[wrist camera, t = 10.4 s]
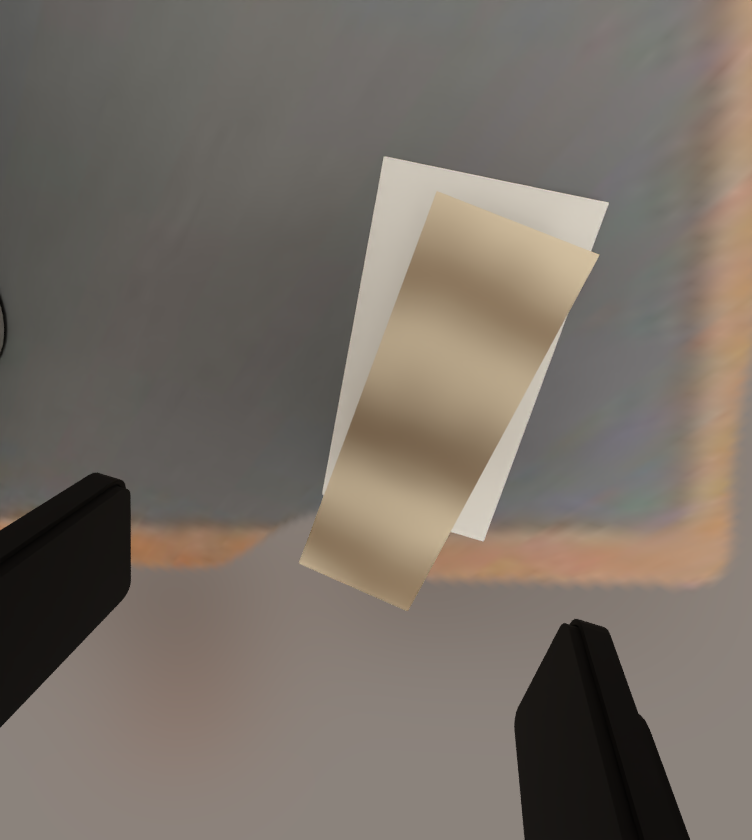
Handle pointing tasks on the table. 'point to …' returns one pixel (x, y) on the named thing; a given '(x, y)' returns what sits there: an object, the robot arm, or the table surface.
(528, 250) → the shelf board
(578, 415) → the table surface
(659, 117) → the table surface
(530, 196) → the peg stand
